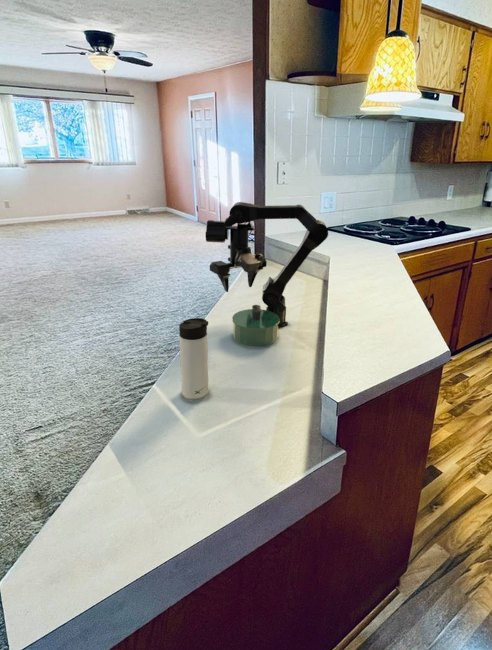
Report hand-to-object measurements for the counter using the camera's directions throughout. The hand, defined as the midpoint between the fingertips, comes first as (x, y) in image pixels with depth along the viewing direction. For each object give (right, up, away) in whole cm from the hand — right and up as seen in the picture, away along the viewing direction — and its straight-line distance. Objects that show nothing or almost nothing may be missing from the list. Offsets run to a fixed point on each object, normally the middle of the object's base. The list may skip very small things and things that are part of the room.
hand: (238, 289), depth 136 cm
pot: (+6, -16, -6) cm, 18 cm away
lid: (+6, -10, -8) cm, 14 cm away
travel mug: (-6, -27, -36) cm, 46 cm away
